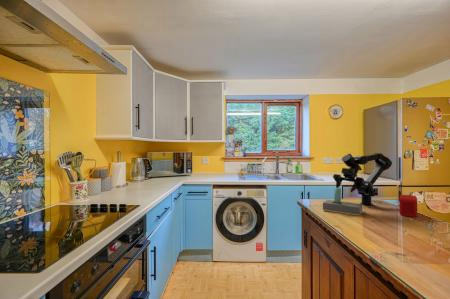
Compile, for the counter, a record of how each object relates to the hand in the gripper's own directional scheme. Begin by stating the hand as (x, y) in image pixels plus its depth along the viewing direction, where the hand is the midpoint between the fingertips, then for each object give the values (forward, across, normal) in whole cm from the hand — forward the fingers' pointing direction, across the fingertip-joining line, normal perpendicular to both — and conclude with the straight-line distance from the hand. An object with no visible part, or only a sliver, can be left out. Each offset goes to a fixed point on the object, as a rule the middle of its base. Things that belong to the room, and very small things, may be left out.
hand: (343, 190), depth 148 cm
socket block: (+12, +2, +4) cm, 13 cm away
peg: (+12, -1, +3) cm, 12 cm away
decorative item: (-5, +28, +21) cm, 35 cm away
